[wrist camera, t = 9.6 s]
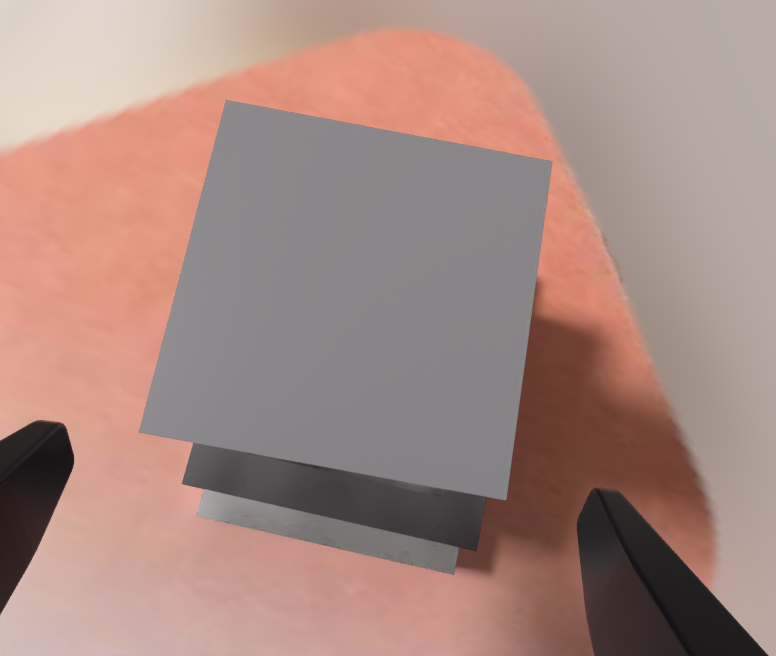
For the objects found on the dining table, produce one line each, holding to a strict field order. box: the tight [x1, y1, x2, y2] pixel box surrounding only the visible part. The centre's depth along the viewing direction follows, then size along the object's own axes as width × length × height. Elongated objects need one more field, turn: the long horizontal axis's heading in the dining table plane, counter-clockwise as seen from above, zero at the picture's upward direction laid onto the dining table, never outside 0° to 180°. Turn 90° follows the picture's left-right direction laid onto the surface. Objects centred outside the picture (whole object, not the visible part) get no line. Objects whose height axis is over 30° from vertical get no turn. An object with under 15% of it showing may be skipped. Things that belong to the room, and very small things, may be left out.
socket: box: [182, 443, 486, 575], centre depth 19 cm, size 11×9×4 cm
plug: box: [139, 100, 552, 500], centre depth 13 cm, size 4×4×12 cm
